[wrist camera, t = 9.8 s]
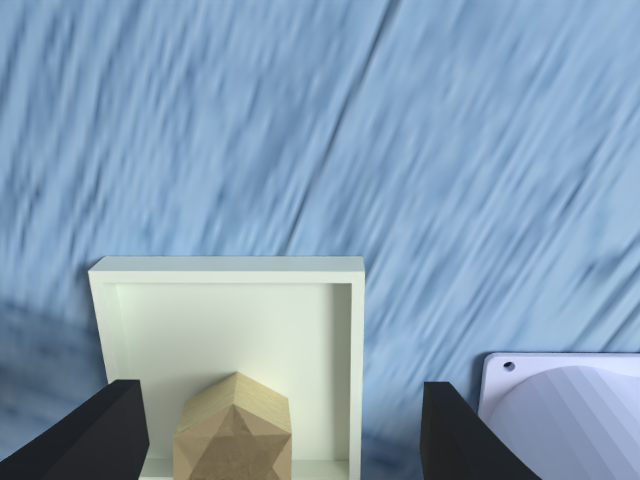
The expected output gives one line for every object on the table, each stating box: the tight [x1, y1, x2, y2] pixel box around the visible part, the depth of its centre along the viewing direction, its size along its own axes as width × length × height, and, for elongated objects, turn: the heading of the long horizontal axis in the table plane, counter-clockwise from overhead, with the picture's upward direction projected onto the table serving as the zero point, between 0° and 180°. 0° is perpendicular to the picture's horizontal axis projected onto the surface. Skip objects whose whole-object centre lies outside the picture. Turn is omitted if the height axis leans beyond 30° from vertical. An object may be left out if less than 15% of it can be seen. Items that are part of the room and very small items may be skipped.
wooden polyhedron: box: [173, 372, 292, 480], centre depth 22 cm, size 5×5×3 cm
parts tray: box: [88, 256, 365, 480], centre depth 23 cm, size 11×11×2 cm
